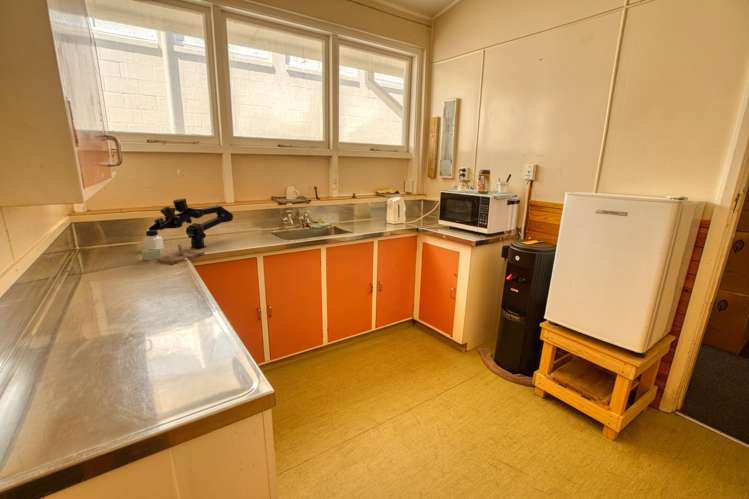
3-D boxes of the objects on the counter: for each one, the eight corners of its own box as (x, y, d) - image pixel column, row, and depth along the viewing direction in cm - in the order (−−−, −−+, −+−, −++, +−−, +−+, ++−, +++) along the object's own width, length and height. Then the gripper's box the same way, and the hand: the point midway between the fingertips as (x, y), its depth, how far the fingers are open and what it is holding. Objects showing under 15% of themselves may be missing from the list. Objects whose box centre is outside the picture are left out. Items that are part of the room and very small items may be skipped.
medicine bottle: (164, 247, 211) (161, 228, 208) (155, 251, 204) (152, 231, 201) (153, 247, 212) (150, 228, 208) (144, 250, 205) (141, 230, 201)
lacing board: (189, 251, 204) (187, 239, 202) (204, 254, 199) (203, 241, 197) (157, 261, 186) (155, 247, 184) (173, 264, 182) (171, 250, 180)
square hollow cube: (153, 256, 194) (152, 247, 193) (160, 257, 192) (159, 249, 191) (142, 259, 189) (141, 250, 187) (150, 260, 187) (148, 251, 185)
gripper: (163, 207, 200) (137, 215, 187) (183, 203, 192) (158, 212, 179) (171, 225, 204) (146, 235, 191) (192, 222, 195) (167, 232, 183)
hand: (154, 228), depth 186 cm, fingers open, 9 cm apart
